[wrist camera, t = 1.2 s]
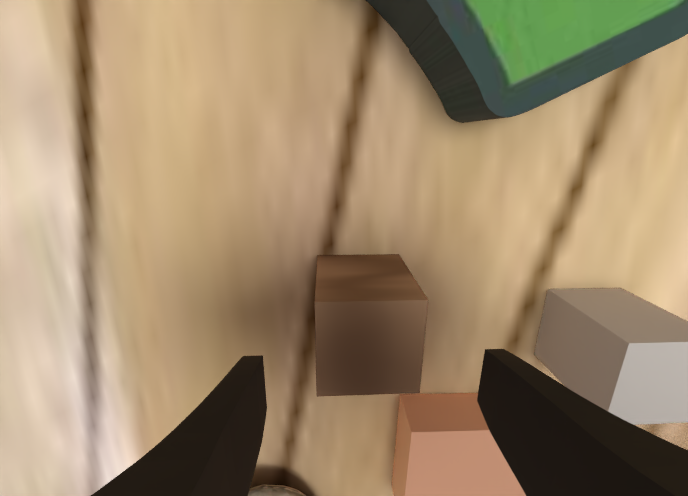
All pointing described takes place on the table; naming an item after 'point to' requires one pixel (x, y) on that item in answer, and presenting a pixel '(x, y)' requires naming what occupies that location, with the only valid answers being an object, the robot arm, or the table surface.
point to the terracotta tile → (448, 449)
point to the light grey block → (617, 352)
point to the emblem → (525, 46)
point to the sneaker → (274, 491)
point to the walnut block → (368, 326)
